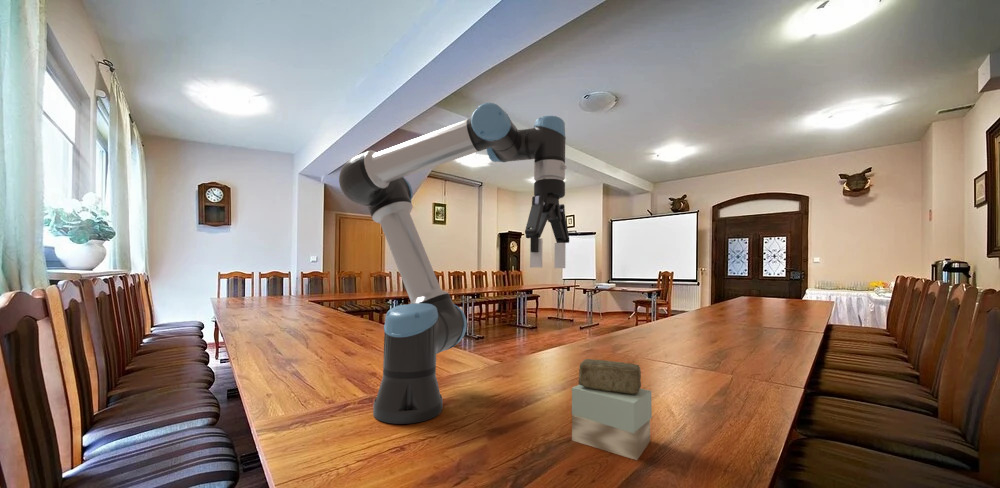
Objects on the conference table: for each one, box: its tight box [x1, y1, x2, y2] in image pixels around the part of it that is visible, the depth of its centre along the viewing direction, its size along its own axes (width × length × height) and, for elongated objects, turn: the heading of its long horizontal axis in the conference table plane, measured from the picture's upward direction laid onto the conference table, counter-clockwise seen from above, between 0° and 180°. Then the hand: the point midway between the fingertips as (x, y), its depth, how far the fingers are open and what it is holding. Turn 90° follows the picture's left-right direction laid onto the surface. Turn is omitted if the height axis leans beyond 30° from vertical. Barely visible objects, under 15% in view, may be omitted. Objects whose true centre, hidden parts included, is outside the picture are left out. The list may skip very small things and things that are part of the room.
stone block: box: [577, 358, 642, 394], centre depth 71 cm, size 6×12×5 cm, turn 67°
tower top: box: [571, 384, 653, 433], centre depth 71 cm, size 12×9×5 cm
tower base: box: [571, 414, 651, 461], centre depth 70 cm, size 12×9×5 cm
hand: (548, 268), depth 89 cm, fingers open, 13 cm apart
